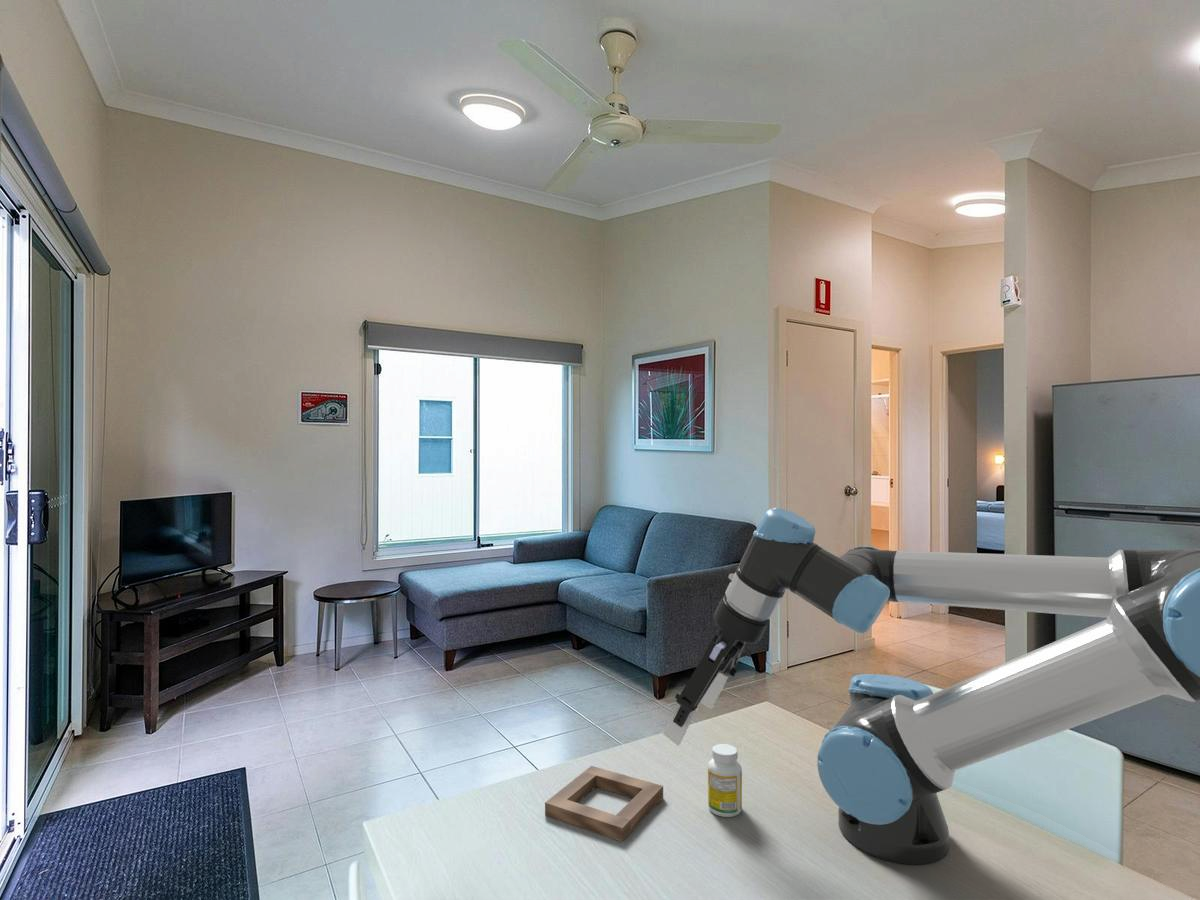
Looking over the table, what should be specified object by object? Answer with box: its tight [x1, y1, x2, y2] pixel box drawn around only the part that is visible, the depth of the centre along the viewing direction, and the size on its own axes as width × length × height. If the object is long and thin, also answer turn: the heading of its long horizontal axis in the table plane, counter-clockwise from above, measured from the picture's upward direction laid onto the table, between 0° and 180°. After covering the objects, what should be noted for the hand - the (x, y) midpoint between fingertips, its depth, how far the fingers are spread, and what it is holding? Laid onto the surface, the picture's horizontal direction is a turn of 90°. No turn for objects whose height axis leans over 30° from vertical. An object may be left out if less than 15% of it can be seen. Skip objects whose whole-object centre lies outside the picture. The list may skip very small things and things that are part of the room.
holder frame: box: [544, 765, 664, 842], centre depth 107 cm, size 14×14×2 cm
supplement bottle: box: [707, 743, 743, 818], centre depth 106 cm, size 5×5×10 cm
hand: (688, 720), depth 103 cm, fingers open, 13 cm apart
